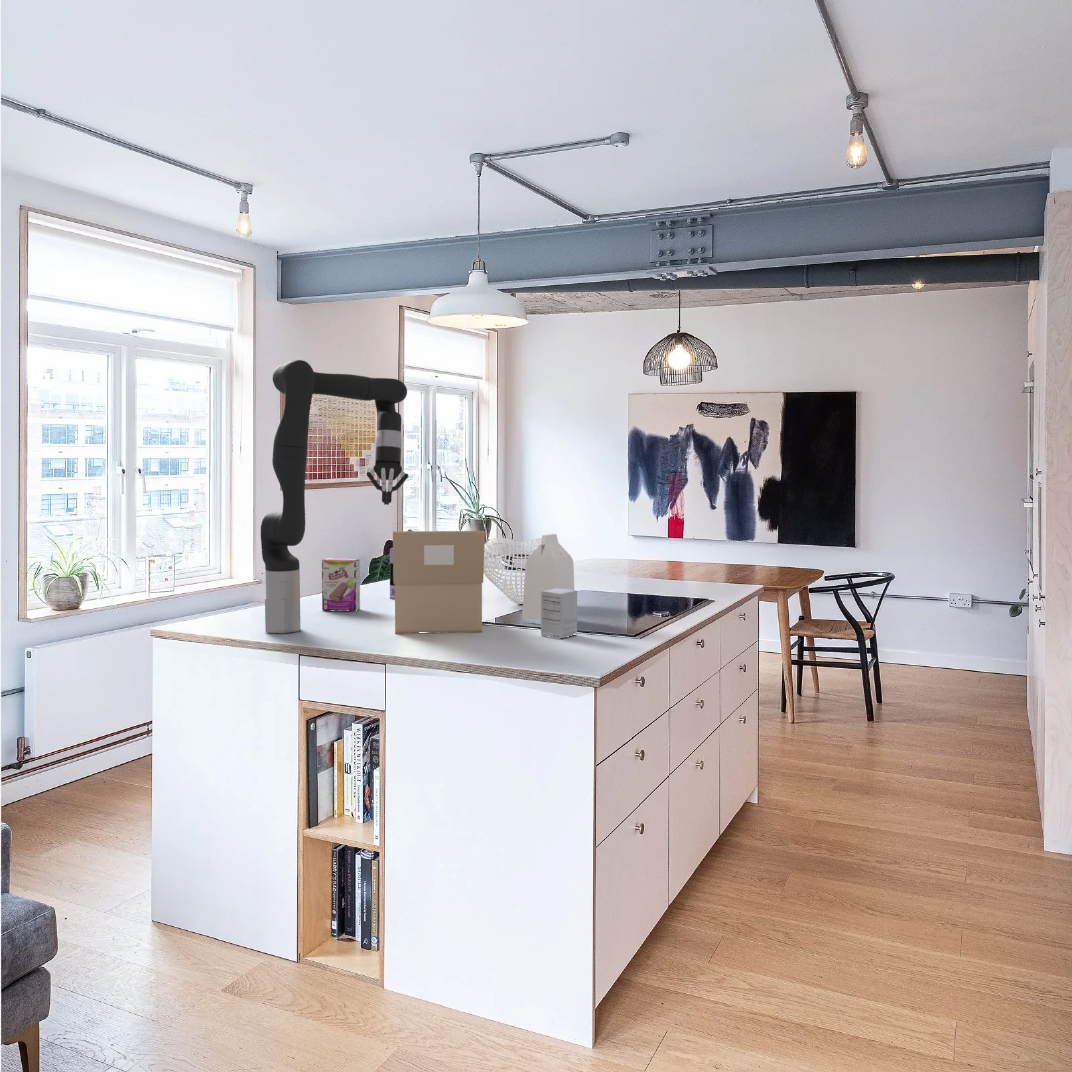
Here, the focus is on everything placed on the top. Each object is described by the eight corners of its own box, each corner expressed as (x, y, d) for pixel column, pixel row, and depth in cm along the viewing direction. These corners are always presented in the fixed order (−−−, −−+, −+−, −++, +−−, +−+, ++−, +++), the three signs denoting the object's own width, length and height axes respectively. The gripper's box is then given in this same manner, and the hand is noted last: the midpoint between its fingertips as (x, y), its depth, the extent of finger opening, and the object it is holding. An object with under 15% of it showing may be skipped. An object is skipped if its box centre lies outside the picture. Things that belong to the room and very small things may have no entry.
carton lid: (483, 581, 264) (483, 583, 264) (393, 583, 261) (393, 584, 261) (484, 530, 257) (484, 532, 256) (392, 531, 254) (392, 532, 253)
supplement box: (556, 632, 266) (556, 587, 265) (577, 635, 262) (578, 590, 260) (540, 636, 261) (540, 590, 259) (561, 639, 256) (561, 593, 255)
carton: (482, 632, 266) (482, 582, 264) (395, 633, 263) (394, 583, 261) (478, 622, 281) (478, 575, 280) (396, 623, 278) (395, 576, 277)
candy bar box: (321, 611, 299) (320, 559, 298) (326, 608, 304) (325, 557, 303) (356, 612, 298) (355, 560, 297) (360, 609, 303) (360, 558, 302)
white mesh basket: (477, 608, 306) (477, 539, 304) (480, 601, 321) (480, 535, 319) (564, 609, 306) (565, 540, 304) (563, 601, 321) (563, 536, 319)
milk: (542, 616, 291) (542, 532, 289) (575, 620, 286) (576, 534, 283) (521, 622, 281) (522, 535, 279) (555, 626, 275) (556, 537, 273)
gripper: (410, 449, 289) (408, 506, 288) (366, 447, 287) (364, 504, 286) (411, 446, 281) (408, 504, 280) (365, 443, 280) (363, 502, 279)
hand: (386, 504), depth 283 cm, fingers closed
